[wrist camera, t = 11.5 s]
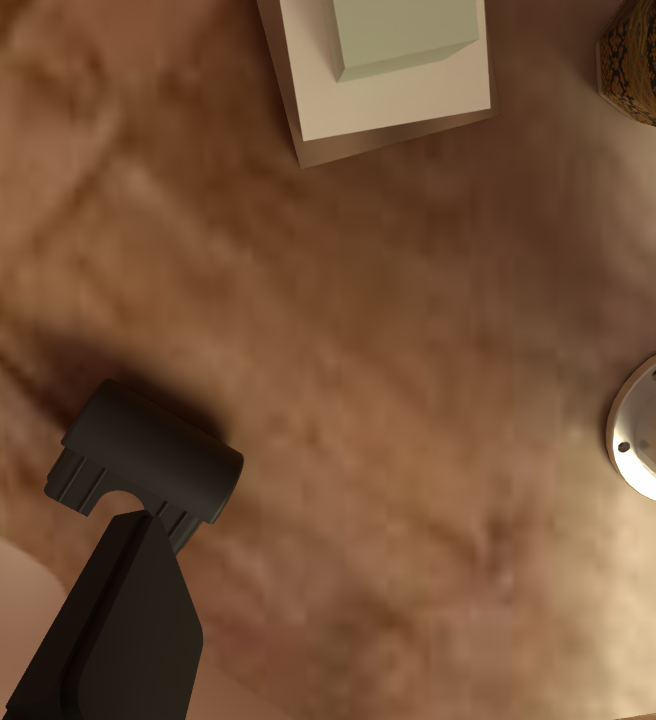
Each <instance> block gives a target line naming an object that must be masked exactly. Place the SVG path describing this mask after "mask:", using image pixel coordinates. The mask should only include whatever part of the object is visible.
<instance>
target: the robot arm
mask: <svg viewBox="0 0 656 720" xmlns="http://www.w3.org/2000/svg"><path fill="white" fill-rule="evenodd" d="M606 447H607V451H608V454H609V457H610V461H611V463H612V464H613V466H614V468H615V469H616V471H617V473H618V474H619V475H620V476H621V477H622V478H623V479H624V481H625V482H626V483H627V484H628V485H629V486H631V487H632V488H633V489H634V490H635V491H637V492H638V493H639V494H641V495H643V496H645V497H647V498H649V499H651V500H654V501H656V355H654V356H653V357H651V358H650V359H648V360H647V361H646V362H645V363H644V364H642V365H641V366H640V367H639V368H638V369H637V370H636V371H635V372H634V373H633V374H632V375H631V376H630V377H629V379H628V380H627V381H626V382H625V383H624V385H623V386H622V388H621V389H620V391H619V393H618V394H617V396H616V398H615V400H614V401H613V404H612V407H611V410H610V413H609V415H608V420H607V426H606ZM202 647H203V632H202V627H201V624H200V621H199V619H198V616H197V613H196V611H195V608H194V605H193V602H192V600H191V597H190V594H189V592H188V589H187V586H186V584H185V581H184V578H183V576H182V573H181V570H180V567H179V565H178V562H177V559H176V557H175V554H174V551H173V549H172V546H171V543H170V540H169V538H168V535H167V532H166V530H165V527H164V524H163V522H162V520H161V518H160V517H159V516H157V515H155V516H152V515H151V514H150V512H149V511H148V510H140V511H135V512H130V513H125V514H120V515H116V516H114V517H113V518H112V520H111V522H110V523H109V525H108V527H107V529H106V530H105V532H104V534H103V536H102V537H101V539H100V541H99V543H98V545H97V546H96V548H95V550H94V552H93V553H92V555H91V557H90V559H89V560H88V562H87V564H86V566H85V567H84V569H83V571H82V573H81V574H80V576H79V578H78V580H77V581H76V583H75V585H74V587H73V588H72V590H71V592H70V594H69V596H68V597H67V599H66V601H65V603H64V604H63V606H62V608H61V610H60V611H59V613H58V615H57V617H56V618H55V620H54V622H53V624H52V626H51V627H50V629H49V631H48V632H47V634H46V636H45V638H44V639H43V641H42V643H41V645H40V647H39V648H38V650H37V652H36V654H35V655H34V657H33V659H32V661H31V662H30V664H29V666H28V668H27V669H26V671H25V673H24V675H23V677H22V678H21V680H20V682H19V684H18V685H17V687H16V689H15V691H14V692H13V694H12V696H11V697H10V699H9V701H8V703H7V705H6V709H7V712H6V714H5V715H4V717H3V719H2V720H185V718H186V713H187V710H188V706H189V701H190V697H191V693H192V689H193V685H194V681H195V677H196V672H197V668H198V664H199V660H200V656H201V652H202ZM616 720H656V713H654V714H647V715H641V716H635V717H628V718H622V719H616Z"/></svg>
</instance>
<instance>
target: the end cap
mask: <svg viewBox="0 0 656 720" xmlns="http://www.w3.org/2000/svg"><path fill="white" fill-rule="evenodd" d="M61 444H62V445H63V446H65V448H64V450H63V451H62V453H61V455H60V456H59V458H58V460H57V461H56V463H55V464H54V466H53V468H52V469H51V471H50V473H49V474H48V476H47V480H48V482H47V484H46V486H45V487H44V492H45V494H46V495H47V496H48V497H50V498H52V499H54V500H56V501H58V502H60V503H61V504H63V505H65V506H67V507H69V508H71V509H73V510H75V511H77V512H79V513H81V514H83V515H85V516H87V517H88V515H89V514H90V512H91V511H92V509H93V508H94V506H95V505H96V503H97V502H98V500H99V499H100V498H101V496H103V495H104V494H106V493H108V492H110V491H116V490H121V491H126V492H129V493H132V494H133V495H135V496H136V497H137V498H139V499H140V501H141V502H142V504H143V506H144V509H145V510H148V511H149V512H150V514H151V515H152V516H155V515H157V516H159V517H160V518H161V520H162V522H163V524H164V527H165V530H166V532H167V535H168V538H169V540H170V543H171V546H172V549H173V551H174V554H175V556H176V555H177V554H178V552H179V551H180V550H181V549H182V548H184V546H185V545H186V544H187V542H188V541H189V540H190V538H191V537H192V536H193V534H194V533H195V531H196V530H197V529H198V527H199V526H200V525H201V523H202V522H203V521H205V522H206V523H208V524H213V523H214V522H215V521H216V519H217V518H218V516H219V515H220V513H221V512H222V510H223V508H224V507H225V505H226V503H227V502H228V500H229V498H230V496H231V494H232V492H233V490H234V488H235V486H236V484H237V482H238V479H239V477H240V474H241V471H242V468H243V463H244V458H243V455H242V454H241V453H239V452H237V451H236V450H234V449H232V448H231V447H229V446H227V445H225V444H224V443H222V442H220V441H218V440H217V439H215V438H213V437H211V436H210V435H208V434H206V433H204V432H203V431H201V430H199V429H197V428H196V427H194V426H192V425H190V424H189V423H187V422H185V421H184V420H182V419H180V418H178V417H177V416H175V415H173V414H171V413H170V412H168V411H166V410H164V409H163V408H161V407H159V406H157V405H156V404H154V403H152V402H150V401H149V400H147V399H145V398H143V397H142V396H140V395H138V394H137V393H135V392H133V391H131V390H130V389H128V388H126V387H124V386H123V385H121V384H119V383H117V382H116V381H114V380H112V379H110V378H108V379H105V380H104V381H103V382H102V383H101V384H100V385H99V387H98V388H97V389H96V390H95V392H94V393H93V394H92V396H91V397H90V398H89V400H88V401H87V402H86V404H85V405H84V407H83V408H82V410H81V411H80V412H79V414H78V415H77V417H76V418H75V420H74V421H73V423H72V424H71V426H70V427H69V429H68V431H67V432H66V434H65V435H64V437H63V439H62V440H61Z"/></svg>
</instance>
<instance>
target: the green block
mask: <svg viewBox="0 0 656 720" xmlns="http://www.w3.org/2000/svg"><path fill="white" fill-rule="evenodd" d="M322 4H323V10H324V15H325V21H326V27H327V32H328V38H329V43H330V49H331V55H332V60H333V66H334V71H335V77H336V83H337V84H338V83H342V82H347V81H351V80H356V79H360V78H365V77H370V76H374V75H379V74H383V73H388V72H392V71H397V70H402V69H406V68H411V67H415V66H420V65H425V64H429V63H434V62H438V61H443V60H445V59H446V58H448V57H450V56H451V55H453V54H455V53H456V52H458V51H460V50H462V49H463V48H465V47H467V46H468V45H470V44H472V43H473V42H475V41H477V40H478V39H479V30H478V20H477V9H476V0H322Z"/></svg>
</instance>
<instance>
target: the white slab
mask: <svg viewBox="0 0 656 720" xmlns="http://www.w3.org/2000/svg"><path fill="white" fill-rule="evenodd" d="M280 5H281V11H282V17H283V23H284V29H285V35H286V41H287V47H288V53H289V59H290V65H291V70H292V76H293V82H294V88H295V94H296V100H297V106H298V112H299V118H300V124H301V130H302V136H303V141H308V140H314V139H319V138H325V137H331V136H336V135H342V134H348V133H354V132H359V131H365V130H371V129H376V128H382V127H388V126H393V125H399V124H405V123H411V122H416V121H422V120H428V119H433V118H439V117H445V116H450V115H456V114H462V113H468V112H473V111H479V110H484V109H490V108H491V106H490V90H489V74H488V57H487V41H486V25H485V8H484V0H476V9H477V20H478V30H479V39H478V40H477V41H475V42H473V43H472V44H470V45H468V46H467V47H465V48H463V49H462V50H460V51H458V52H456V53H455V54H453V55H451V56H450V57H448V58H446V59H445V60H443V61H438V62H434V63H429V64H425V65H420V66H415V67H411V68H406V69H402V70H397V71H392V72H388V73H383V74H379V75H374V76H370V77H365V78H360V79H356V80H351V81H347V82H342V83H338V84H337V83H336V77H335V71H334V66H333V60H332V55H331V49H330V43H329V38H328V32H327V27H326V21H325V15H324V10H323V4H322V0H280Z"/></svg>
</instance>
